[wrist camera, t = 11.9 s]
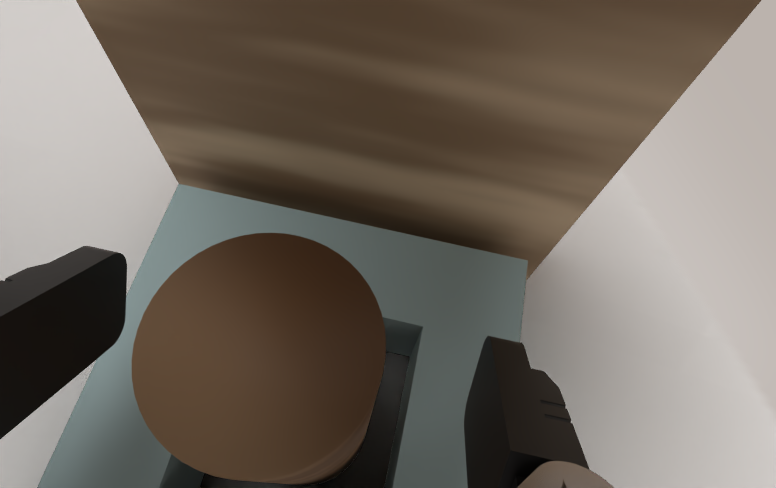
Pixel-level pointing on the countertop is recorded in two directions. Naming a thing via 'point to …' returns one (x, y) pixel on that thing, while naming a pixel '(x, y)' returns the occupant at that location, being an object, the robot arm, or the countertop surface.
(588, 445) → the countertop surface
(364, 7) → the wooden l-shaped stand
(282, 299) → the peg
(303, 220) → the socket
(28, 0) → the countertop surface
